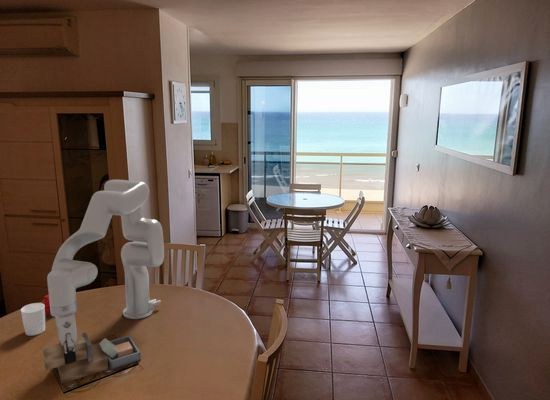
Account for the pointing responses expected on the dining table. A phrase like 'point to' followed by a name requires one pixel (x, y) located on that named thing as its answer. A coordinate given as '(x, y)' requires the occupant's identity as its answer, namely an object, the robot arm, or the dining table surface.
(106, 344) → the tile sage
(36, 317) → the white cup
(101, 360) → the wooden block
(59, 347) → the scraper
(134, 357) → the tray
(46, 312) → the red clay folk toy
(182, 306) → the dining table surface
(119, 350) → the tile terracotta
